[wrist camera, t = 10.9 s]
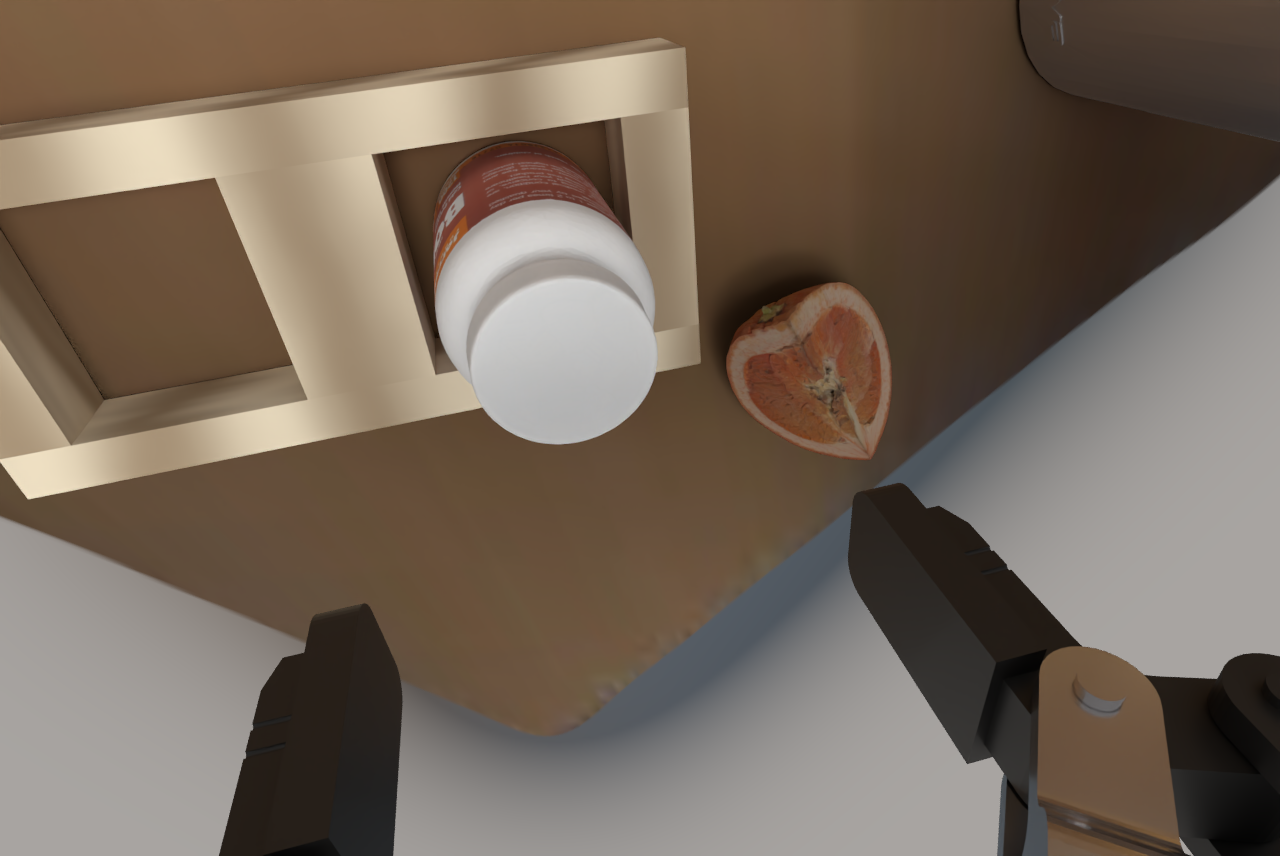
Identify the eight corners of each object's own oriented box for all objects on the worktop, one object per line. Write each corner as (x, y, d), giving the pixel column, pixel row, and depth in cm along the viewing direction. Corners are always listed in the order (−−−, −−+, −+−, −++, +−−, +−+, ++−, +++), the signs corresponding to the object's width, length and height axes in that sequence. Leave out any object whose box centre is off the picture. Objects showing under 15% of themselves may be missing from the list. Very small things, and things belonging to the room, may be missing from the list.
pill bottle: (419, 141, 24) (414, 252, 15) (599, 133, 25) (693, 232, 16) (445, 311, 28) (454, 485, 19) (603, 297, 29) (682, 453, 20)
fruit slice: (679, 315, 30) (718, 372, 26) (815, 218, 29) (877, 262, 25) (765, 439, 35) (809, 503, 31) (884, 359, 34) (945, 414, 30)
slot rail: (659, 37, 24) (685, 47, 22) (679, 330, 30) (700, 363, 28) (-143, 144, 21) (-219, 169, 18) (64, 450, 27) (28, 499, 25)
